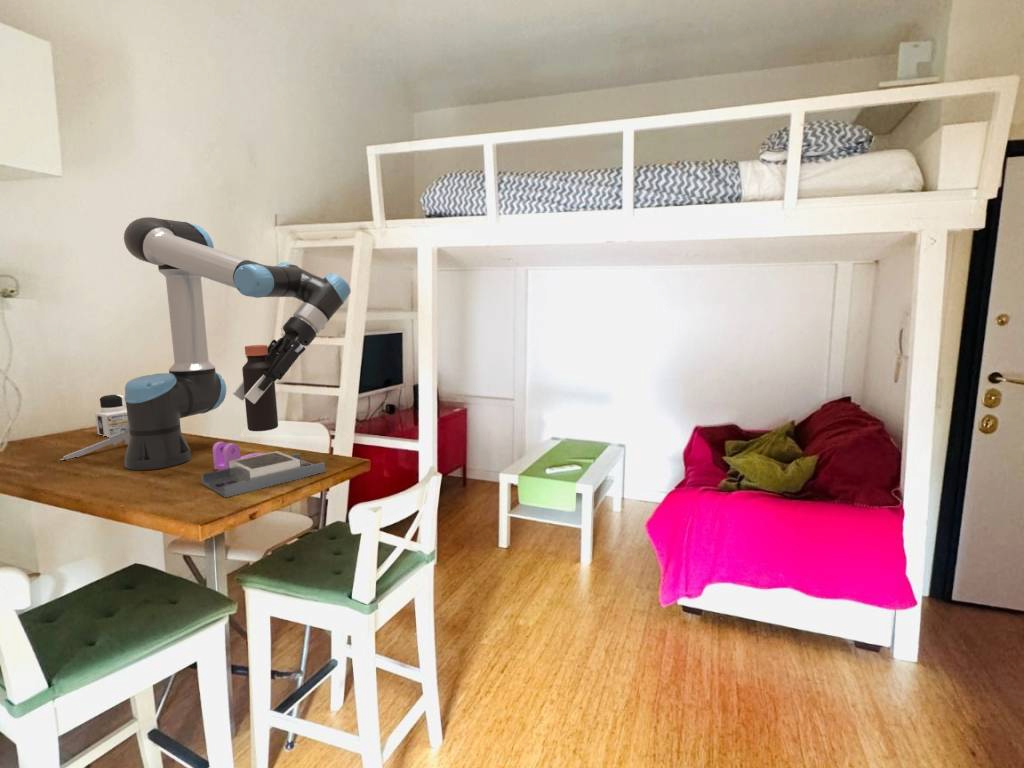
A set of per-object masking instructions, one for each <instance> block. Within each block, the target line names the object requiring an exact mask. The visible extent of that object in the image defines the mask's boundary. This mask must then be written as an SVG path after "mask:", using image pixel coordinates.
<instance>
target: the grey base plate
mask: <svg viewBox="0 0 1024 768" xmlns="http://www.w3.org/2000/svg"><path fill="white" fill-rule="evenodd" d="M325 471H326V463H325V462H322V461H321V462H318V463H312V462H309V461H306V460H303V459H301V453H299V452H296V453H292V454H286V453H283V452H281V451H277V450H275V451H271V452H266V453H265V454H261V455H256V456H251V457H246V458H242V459H237V460H232V461H229V468H227V469H223V470H214V471H210V472H204V473H201V483H202V485H203V486H205V487H206V488H209V489H210V490H211V491H213V492H214V493H217V494H218V493H219V494H218V495H220V496H222V497H223V496H224V498H225V497H227V498H230V496H231V497H235V496H239V495H242V493H243V494H246V492H247V493H250V492H254V491H258V490H262V488H263V489H266V488H270V487H274V486H277V484H278V485H282V484H285V482H286V483H290V482H294V481H297V479H298V480H301V478H302V479H305V478H304V477H306V478H308V476H310V477H312V476H311V475H314V476H316V475H315V474H318V473H322V472H325ZM322 474H323V473H322ZM318 475H319V474H318ZM293 480H294V481H293ZM281 483H282V484H281ZM273 485H274V486H273ZM269 486H270V487H269ZM265 487H266V488H265ZM238 494H239V495H238ZM234 495H235V496H234Z"/></svg>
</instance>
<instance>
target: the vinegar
mask: <svg viewBox="0 0 1024 768" xmlns="http://www.w3.org/2000/svg"><path fill="white" fill-rule="evenodd" d="M244 354H245V358H247V359H246V360H247V362H245V364H244V365H243V366H242V369H241V372H242V380H243V381H242V382H243V383H244V394H245V395H246V394H247V393H248V391H249V390H250V389H251V388H252V387H253V385H254V384H255V383H256V382H257V381H258V380H259V379H260V378H261V377H262V376H263V375H265V374H264V373H263V372H264V371H268V370H269V368H270V366H271V365H272V364H270V363H269V362H268V361H267V357H268V345H267V344H253V345H246V346H244ZM265 376H266V375H265ZM275 382H276V381H274V382H273V381H272V384H271V385H270V386H269V387H268V388H267V390H266V391H265V392H264V393H263V394H262V396H261V397H260V398H259V399H258V401H257V402H256V403H255V404H253V403H252V402H251V401H249V400H248V399H247V398H245V399H244V402H245V415H246V423H247V424H246V426H247V430H248V431H250V432H267V431H272V430H275V429H277V428H278V427H279V419H278V409H277V408H278V407H277V394H276V393H277V392H276V383H275Z"/></svg>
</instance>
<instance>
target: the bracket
mask: <svg viewBox="0 0 1024 768" xmlns="http://www.w3.org/2000/svg"><path fill="white" fill-rule="evenodd" d="M261 454H265V453H264V452H257V453H256V452H254V453H249V454H246V455H242V456H241V448H240V446H239V445H238V444H236V443H232V442H231V443H227V442H225V441H217V442H215V443H214V444H213V447H212V458H213V468H214V470H216V469H219V470H223V469H227V468H229V461H232V460H237V459H242V458H246V457H251V456H256V455H261Z"/></svg>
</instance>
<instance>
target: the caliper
mask: <svg viewBox="0 0 1024 768" xmlns="http://www.w3.org/2000/svg"><path fill="white" fill-rule="evenodd" d="M124 428H125V427H124ZM125 431H126V432H124V431H123V432H121V433H118V434H116V435H113V436H111V437H109V438H107V439H104V440H102V441H100V442H97V443H94V444H92V445H89V446H87V447H84V448H81V449H79V450H76V451H74V452H71V453H68V454H66V455H64V456H63V457H62V458H60V459H59V460H64V459H69V458H74V457H77V458H79V457H82V456H84V455H87V454H89V453H91V452H94V451H97V450H99V449H102V448H104V447H107V446H109V445H111V446H114V447H115V446H116V445H117V444H118V445H119V444H120V443H122V441H123V442H124V444H125V445H126V446H127V445H128V443H129V439H130V433H129V426H128V428H125ZM74 459H75V458H74Z"/></svg>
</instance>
